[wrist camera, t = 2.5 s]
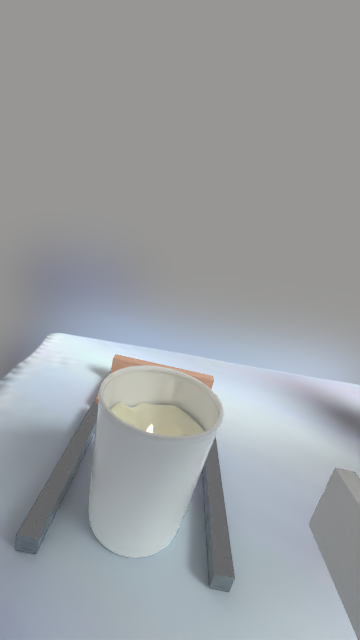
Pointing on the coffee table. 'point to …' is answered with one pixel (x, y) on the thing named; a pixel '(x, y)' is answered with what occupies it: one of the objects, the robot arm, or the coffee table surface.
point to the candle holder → (148, 456)
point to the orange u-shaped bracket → (125, 362)
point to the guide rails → (65, 470)
